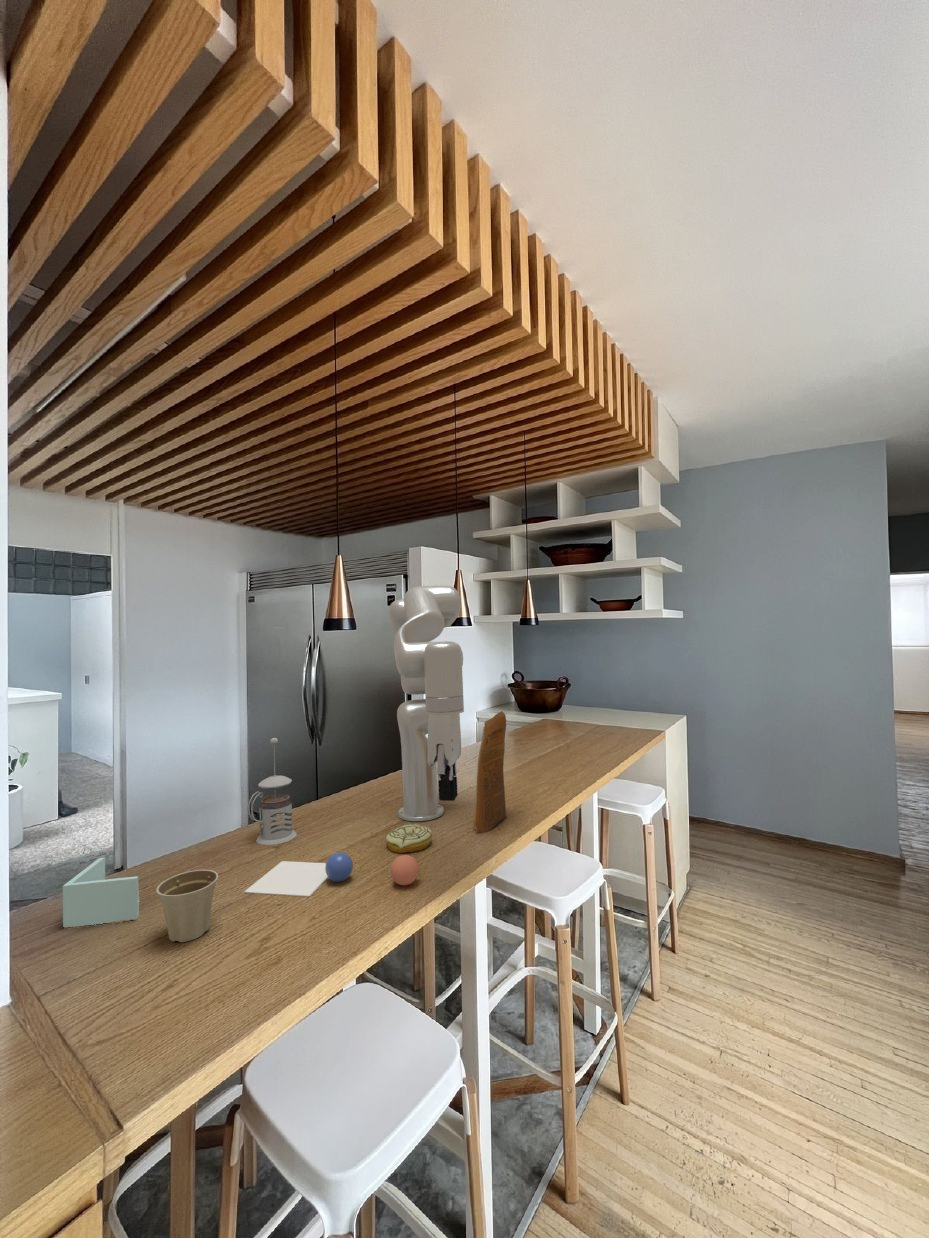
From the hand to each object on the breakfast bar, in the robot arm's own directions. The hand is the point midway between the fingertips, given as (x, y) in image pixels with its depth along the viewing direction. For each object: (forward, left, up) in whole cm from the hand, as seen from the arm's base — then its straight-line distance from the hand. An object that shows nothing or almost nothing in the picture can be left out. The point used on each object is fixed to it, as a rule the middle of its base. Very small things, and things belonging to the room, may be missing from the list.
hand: (448, 798), depth 102 cm
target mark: (0, -33, -17) cm, 38 cm away
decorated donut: (-19, -14, -18) cm, 30 cm away
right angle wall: (+15, -62, -17) cm, 66 cm away
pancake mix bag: (-35, +3, -17) cm, 39 cm away
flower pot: (+21, -41, -17) cm, 50 cm away
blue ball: (0, -23, -14) cm, 28 cm away
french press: (-20, -50, -17) cm, 57 cm away
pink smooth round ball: (0, -9, -14) cm, 17 cm away
